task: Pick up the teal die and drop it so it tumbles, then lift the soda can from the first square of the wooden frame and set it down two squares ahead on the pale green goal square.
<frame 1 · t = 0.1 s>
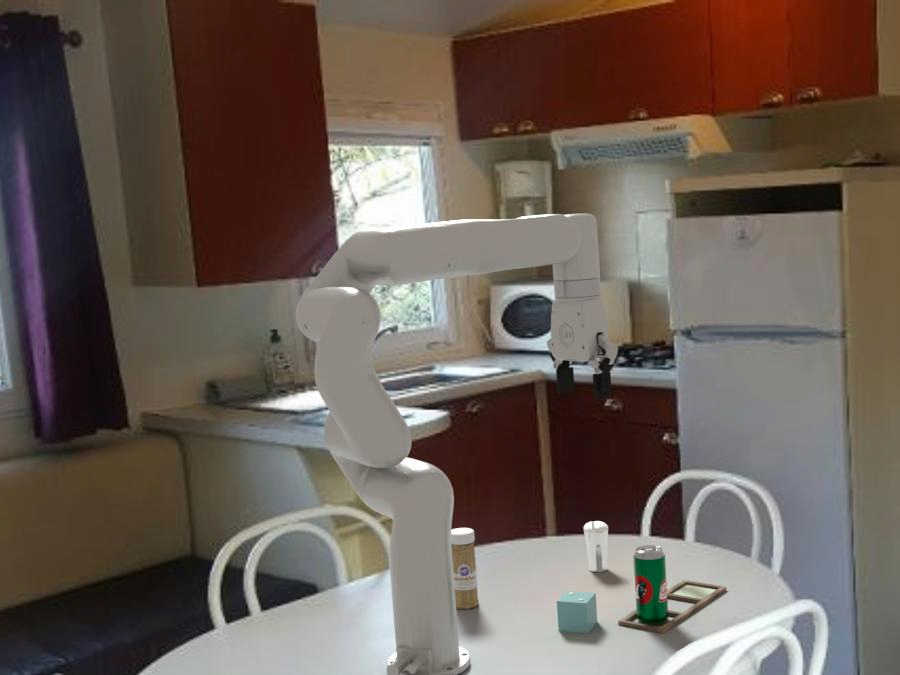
hand: (584, 394, 183), 37 cm above the table, tool pointing down, fingers open, 9 cm apart
wooden frame: (674, 606, 187), on the table
sprinkles bottle: (466, 606, 195), on the table
milkshake: (598, 571, 209), on the table
soda can: (652, 622, 182), resting in wooden frame
die: (578, 626, 182), on the table
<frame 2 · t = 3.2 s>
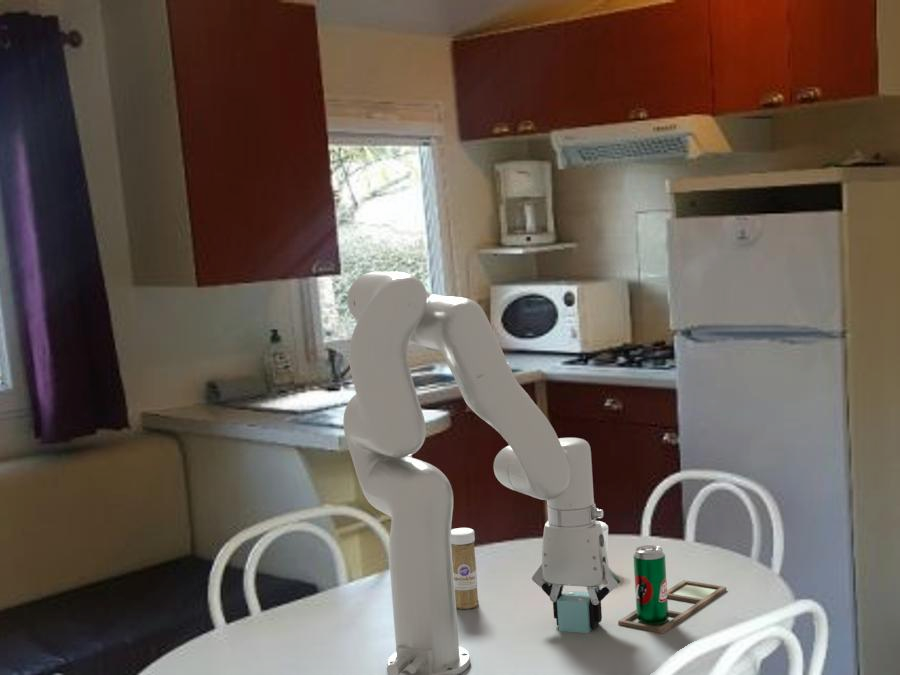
hand: (578, 623, 182), 0 cm above the table, tool pointing down, fingers closed on die, 4 cm apart
die: (578, 626, 182), on the table, touching gripper
everything else where it was.
when the fingers open (7 cm above the table, at t = 5.1 s): die drops 7 cm, on the table.
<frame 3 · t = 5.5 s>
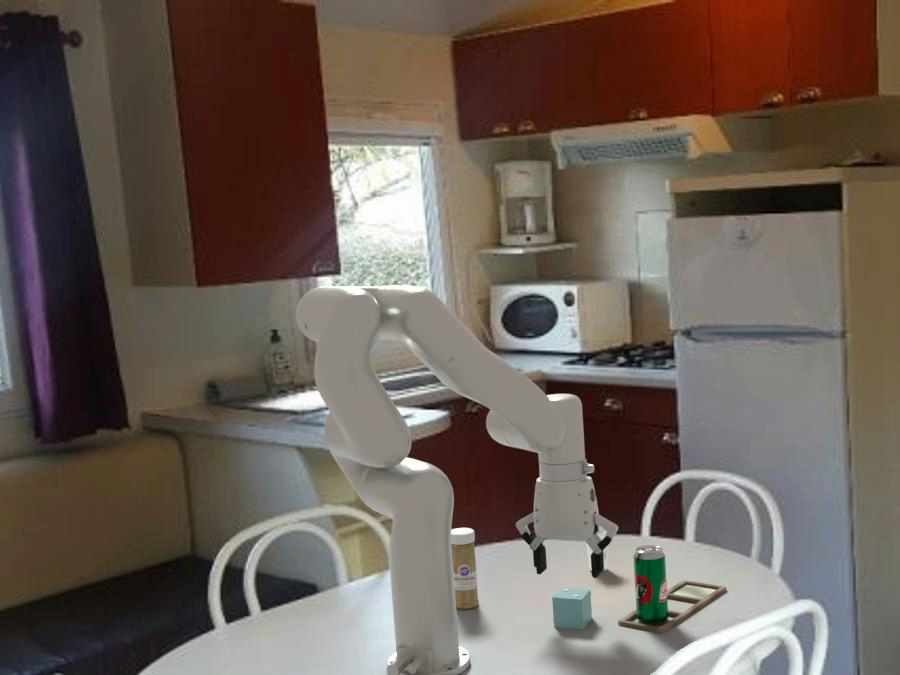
hand: (569, 573, 183), 8 cm above the table, tool pointing down, fingers open, 9 cm apart
die: (573, 622, 184), on the table
everything else where it was.
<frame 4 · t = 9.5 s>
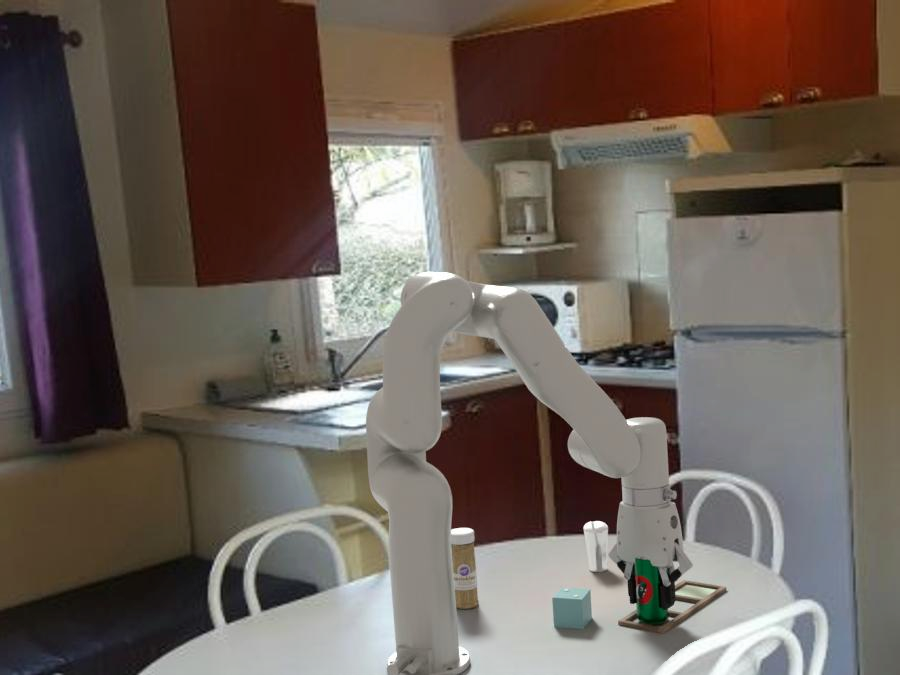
hand: (652, 603, 181), 3 cm above the table, tool pointing down, fingers closed on soda can, 5 cm apart
soda can: (653, 621, 182), resting in wooden frame, touching gripper
everything else where it was.
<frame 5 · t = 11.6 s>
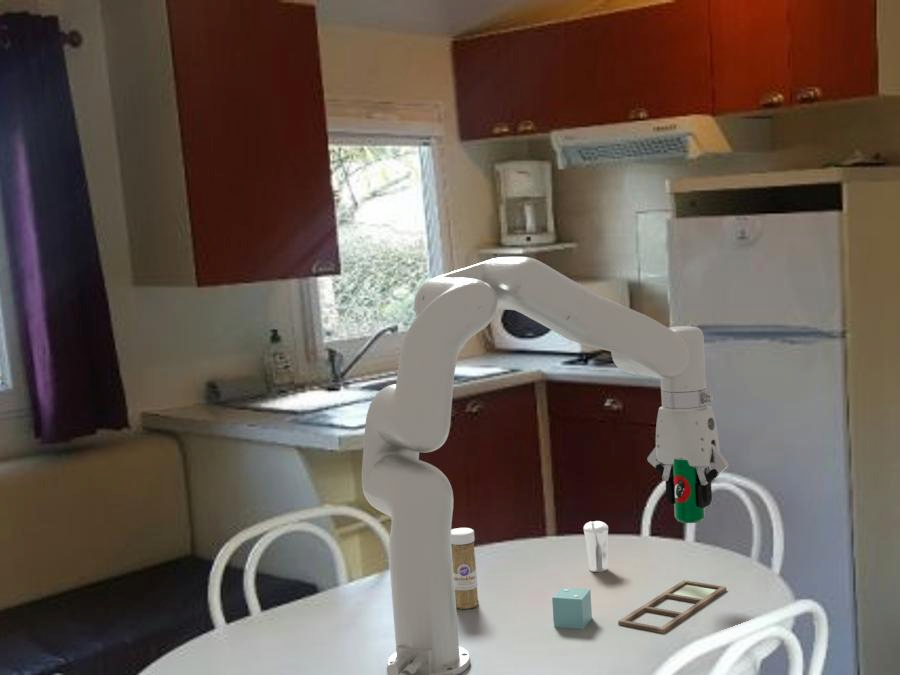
hand: (689, 503, 191), 16 cm above the table, tool pointing down, fingers closed on soda can, 5 cm apart
soda can: (690, 521, 191), point 13 cm above the table, touching gripper
everything else where it was.
when the fingers open (4 cm above the table, at t = 14.2 s): soda can stays where it is, resting on wooden frame.
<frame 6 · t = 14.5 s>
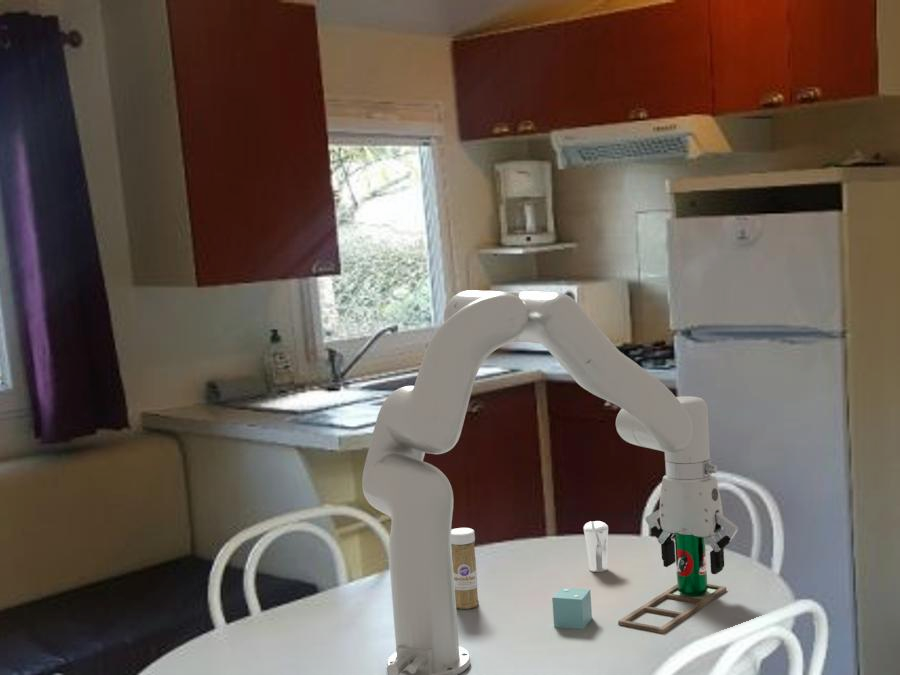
hand: (692, 567, 192), 5 cm above the table, tool pointing down, fingers open, 8 cm apart
soda can: (692, 593, 193), resting on wooden frame
everything else where it was.
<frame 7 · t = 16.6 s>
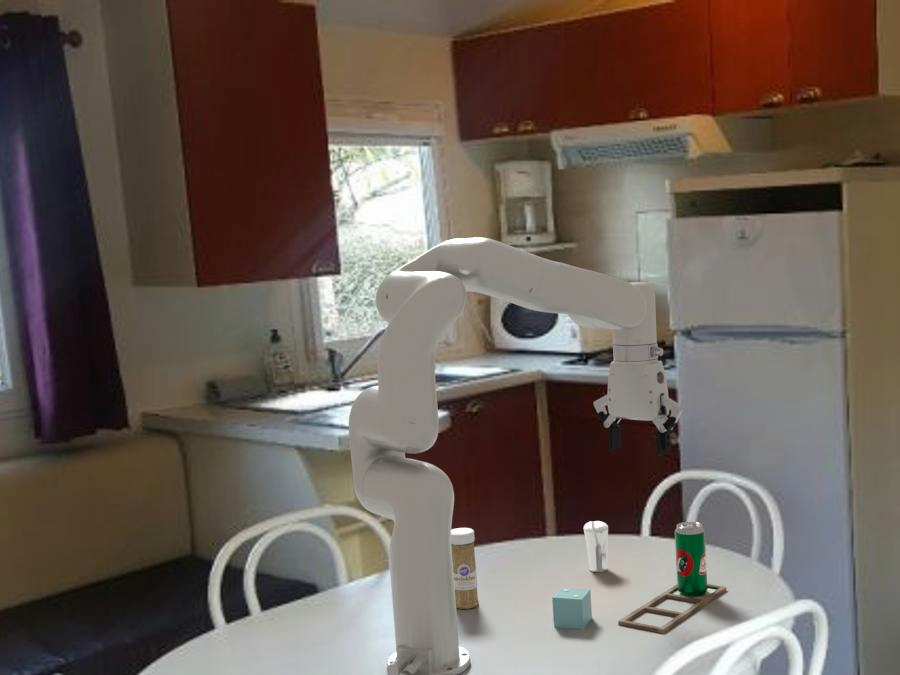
hand: (638, 451, 195), 25 cm above the table, tool pointing down, fingers open, 9 cm apart
nothing on the table moved.
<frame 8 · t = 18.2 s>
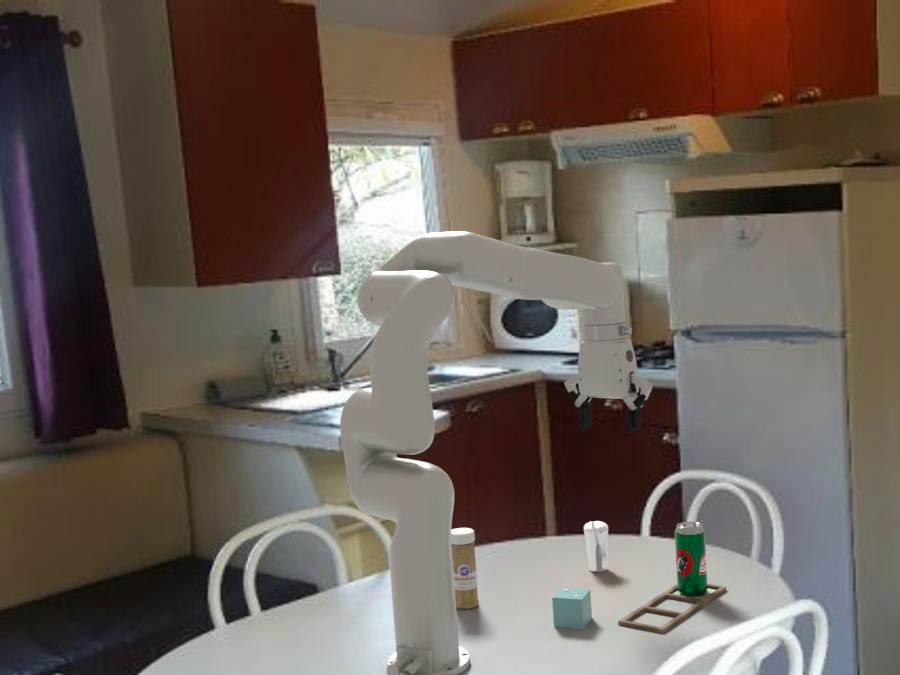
hand: (610, 429, 197), 28 cm above the table, tool pointing down, fingers open, 9 cm apart
nothing on the table moved.
at the end: soda can 0.3 cm from the target spot on the wooden frame, point 0.0 cm above the wooden frame's base; soda can tilted 0°; die moved 2.0 cm from its start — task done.
